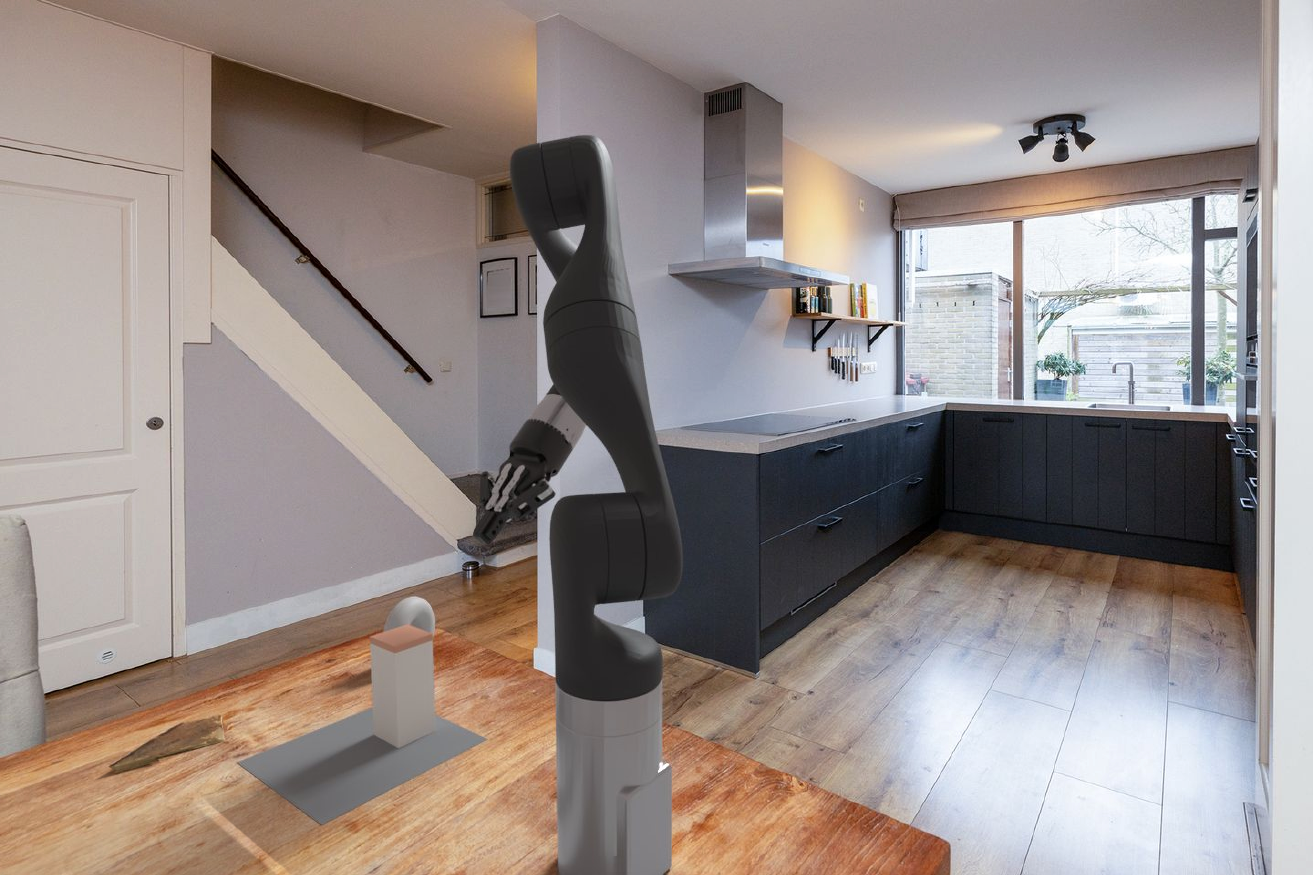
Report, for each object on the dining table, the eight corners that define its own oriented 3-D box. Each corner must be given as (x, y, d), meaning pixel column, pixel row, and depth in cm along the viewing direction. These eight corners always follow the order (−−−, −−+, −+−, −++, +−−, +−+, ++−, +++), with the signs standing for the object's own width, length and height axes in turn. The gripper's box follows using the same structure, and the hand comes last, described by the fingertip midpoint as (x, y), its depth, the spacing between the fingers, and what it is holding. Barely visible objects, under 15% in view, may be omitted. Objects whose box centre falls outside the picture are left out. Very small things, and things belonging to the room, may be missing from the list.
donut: (398, 679, 102) (396, 610, 101) (378, 675, 103) (375, 607, 102) (440, 652, 112) (438, 589, 111) (421, 649, 113) (419, 586, 112)
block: (435, 730, 87) (432, 633, 86) (398, 748, 83) (394, 646, 82) (410, 718, 90) (407, 624, 89) (373, 734, 86) (369, 636, 85)
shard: (109, 779, 79) (108, 763, 78) (113, 748, 85) (112, 734, 85) (225, 749, 85) (225, 735, 84) (221, 723, 91) (221, 709, 91)
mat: (487, 743, 85) (487, 738, 85) (321, 829, 69) (321, 824, 69) (398, 700, 96) (398, 696, 96) (237, 766, 80) (236, 762, 80)
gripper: (502, 414, 101) (429, 516, 93) (570, 420, 93) (498, 531, 85) (530, 448, 106) (464, 547, 98) (598, 456, 98) (532, 565, 90)
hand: (480, 540), depth 92 cm, fingers closed
